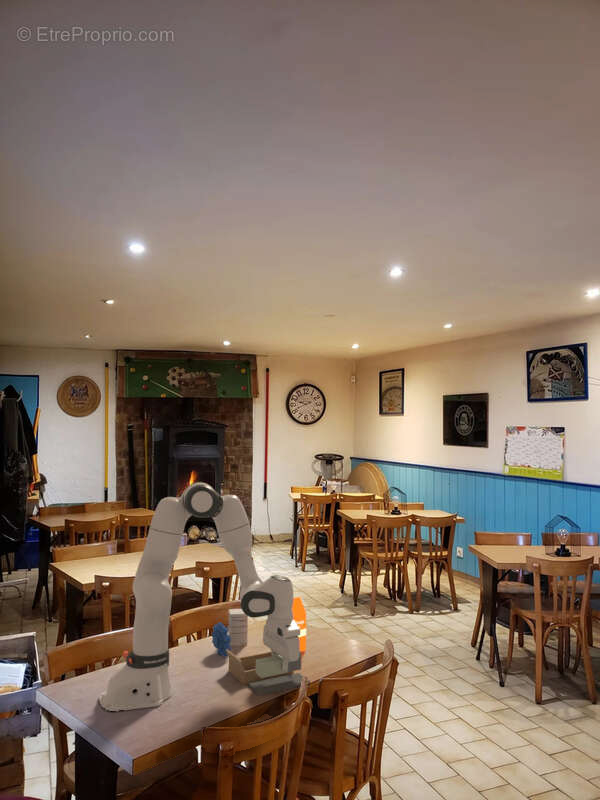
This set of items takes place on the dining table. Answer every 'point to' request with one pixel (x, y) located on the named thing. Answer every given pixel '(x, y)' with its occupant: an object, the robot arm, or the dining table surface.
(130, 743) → the dining table surface
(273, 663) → the block
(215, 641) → the grapes
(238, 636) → the supplement box
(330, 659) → the dining table surface
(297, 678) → the rubber mat
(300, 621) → the orange juice
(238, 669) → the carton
